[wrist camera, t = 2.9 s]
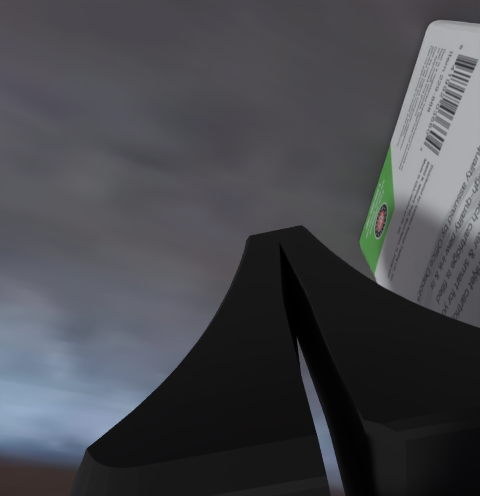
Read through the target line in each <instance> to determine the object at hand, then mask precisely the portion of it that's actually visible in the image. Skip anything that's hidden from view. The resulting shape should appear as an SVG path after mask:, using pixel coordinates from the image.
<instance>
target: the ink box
mask: <svg viewBox="0 0 480 496" xmlns="http://www.w3.org/2000/svg"><path fill="white" fill-rule="evenodd" d="M360 247H361V250H362V252H363V254H364V256H365V258H366V260H367V262H368V264H369V266H370V268H371V270H372V273H373V275H374V277H375V279H376V281H377V284H379V285H381V286H383V287H384V288H386V289H388V290H390V291H392V292H394V293H396V294H398V295H400V296H402V297H404V298H406V299H408V300H410V301H412V302H414V303H416V304H419V305H421V306H423V307H426V308H428V309H431V310H433V311H436V312H438V313H441V314H443V315H445V316H448V317H450V318H453V319H456V320H459V321H462V322H464V323H467V324H470V325H473V326H476V327H479V328H480V24H476V23H467V22H459V21H448V20H437V21H434V22H432V23H431V24H430V25H429V26H428V28H427V30H426V34H425V37H424V40H423V43H422V46H421V49H420V53H419V56H418V59H417V62H416V65H415V68H414V71H413V74H412V78H411V81H410V84H409V87H408V90H407V93H406V96H405V99H404V103H403V106H402V109H401V112H400V115H399V118H398V121H397V125H396V128H395V131H394V134H393V137H392V140H391V143H390V147H389V150H388V153H387V157H386V160H385V163H384V166H383V169H382V172H381V175H380V178H379V181H378V185H377V187H376V190H375V194H374V197H373V200H372V203H371V206H370V209H369V213H368V216H367V219H366V222H365V225H364V228H363V231H362V235H361V238H360Z"/></svg>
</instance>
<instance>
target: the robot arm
mask: <svg viewBox="0 0 480 496" xmlns="http://www.w3.org/2000/svg"><path fill="white" fill-rule="evenodd" d="M296 336H297V337H296ZM297 339H298V341H299V344H300V347H301V350H302V353H303V356H304V359H305V361H306V364H307V367H308V370H309V373H310V376H311V378H312V381H313V384H314V387H315V390H316V393H317V395H318V398H319V401H320V404H321V407H322V409H323V412H324V415H325V419H326V422H327V425H328V428H329V432H330V435H331V439H332V443H333V447H334V451H335V455H336V459H337V463H338V467H339V471H340V475H341V480H342V484H343V488H344V492H345V496H480V328H479V327H476V326H473V325H470V324H467V323H464V322H462V321H459V320H456V319H453V318H450V317H448V316H445V315H443V314H441V313H438V312H436V311H433V310H431V309H428V308H426V307H423V306H421V305H419V304H416V303H414V302H412V301H410V300H408V299H406V298H404V297H402V296H400V295H398V294H396V293H394V292H392V291H390V290H388V289H386V288H384V287H383V286H381V285H379V284H377V283H376V282H374V281H372V280H371V279H369V278H368V277H366V276H365V275H363V274H362V273H360V272H359V271H357V270H356V269H354V268H353V267H351V266H350V265H349V264H347V263H346V262H345V261H343V260H342V259H341V258H340V257H338V256H337V255H336V254H334V253H333V252H332V251H331V250H329V249H328V248H327V247H326V246H325V245H324V244H322V243H321V242H320V241H319V240H318V239H317V238H316V237H315V236H313V235H312V234H311V233H310V232H309V231H308V230H307V229H306V228H305V227H303V226H302V225H300V226H295V227H290V228H285V229H280V230H276V231H271V232H266V233H261V234H256V235H251V236H249V238H248V239H247V240H246V245H245V249H244V253H243V256H242V259H241V262H240V265H239V267H238V270H237V272H236V274H235V277H234V279H233V281H232V284H231V286H230V288H229V290H228V292H227V294H226V296H225V298H224V300H223V302H222V303H221V305H220V307H219V309H218V311H217V313H216V314H215V316H214V318H213V319H212V321H211V322H210V324H209V326H208V327H207V329H206V330H205V332H204V333H203V334H202V336H201V337H200V339H199V340H198V342H197V343H196V344H195V345H194V347H193V348H192V349H191V351H190V352H189V353H188V354H187V356H186V357H185V358H184V359H183V361H182V362H181V363H180V364H179V365H178V367H177V368H176V369H175V370H174V371H173V372H172V373H171V374H170V375H169V376H168V377H167V378H166V379H165V381H164V382H163V383H162V384H161V385H160V386H159V387H158V388H157V389H156V390H155V391H154V392H152V393H151V394H150V395H149V396H148V397H147V398H146V399H145V400H144V401H143V402H142V403H141V404H140V405H139V406H138V407H136V408H135V409H134V410H133V411H132V412H131V413H130V414H128V415H127V416H126V417H125V418H124V419H122V420H121V421H120V422H119V423H118V424H116V425H115V426H114V427H113V428H111V429H110V430H109V431H108V432H107V433H105V434H104V435H103V436H102V437H101V438H99V439H98V440H97V441H96V442H94V443H93V444H92V445H90V446H89V447H88V448H87V449H86V451H85V454H84V457H83V460H82V463H81V465H80V467H79V470H78V472H77V474H76V477H75V479H74V482H73V485H72V488H71V491H70V494H69V496H330V490H329V485H328V480H327V475H326V471H325V467H324V463H323V458H322V454H321V450H320V445H319V441H318V437H317V433H316V429H315V426H314V422H313V418H312V415H311V411H310V407H309V403H308V399H307V396H306V392H305V388H304V384H303V380H302V376H301V370H300V362H299V353H298V345H297Z"/></svg>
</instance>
